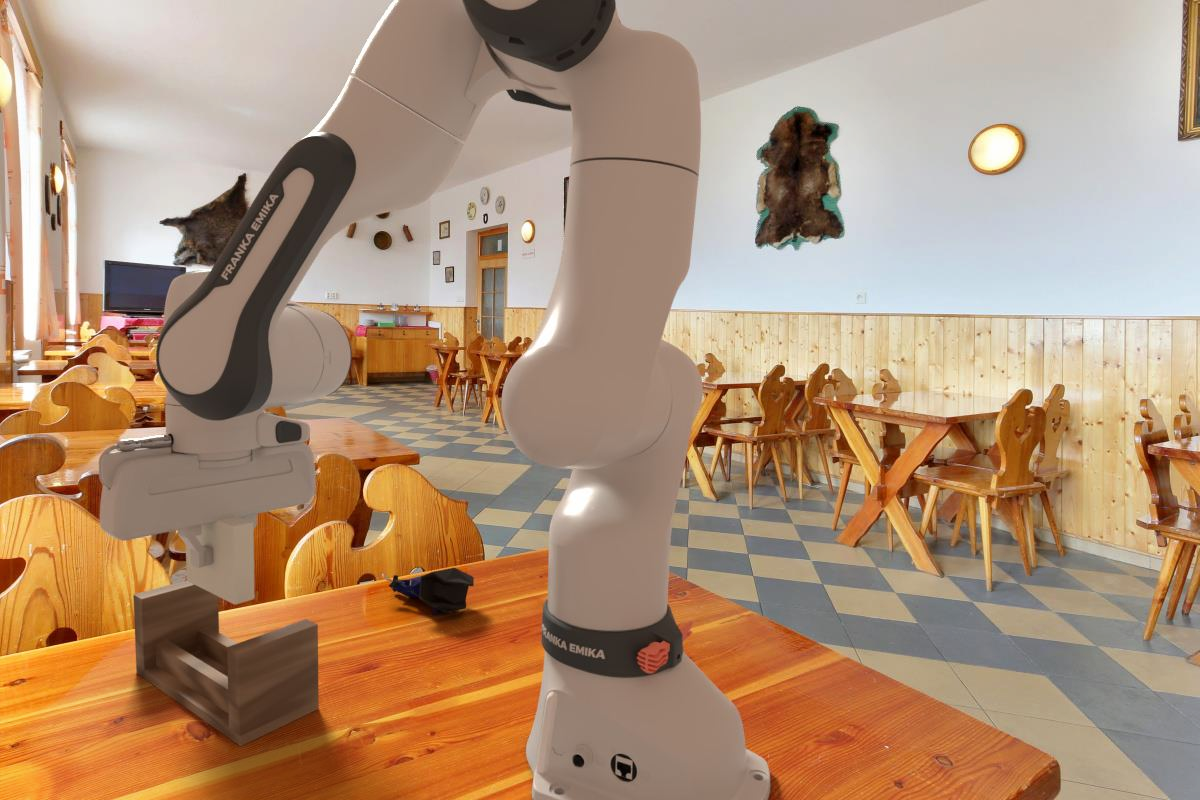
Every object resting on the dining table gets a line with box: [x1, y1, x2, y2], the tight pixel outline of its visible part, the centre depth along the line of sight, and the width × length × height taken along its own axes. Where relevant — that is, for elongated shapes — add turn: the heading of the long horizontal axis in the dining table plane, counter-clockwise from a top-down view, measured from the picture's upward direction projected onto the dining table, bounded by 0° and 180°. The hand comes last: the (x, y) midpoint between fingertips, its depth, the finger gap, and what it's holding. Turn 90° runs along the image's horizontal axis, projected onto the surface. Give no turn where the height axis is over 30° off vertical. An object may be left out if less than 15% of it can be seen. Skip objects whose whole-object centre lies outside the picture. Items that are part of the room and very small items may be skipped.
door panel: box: [185, 516, 256, 605], centre depth 72 cm, size 10×2×8 cm, turn 55°
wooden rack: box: [133, 579, 320, 747], centre depth 73 cm, size 22×8×9 cm, turn 55°
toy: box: [381, 567, 475, 616], centre depth 97 cm, size 9×6×15 cm
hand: (219, 560), depth 72 cm, fingers closed on door panel, 2 cm apart
